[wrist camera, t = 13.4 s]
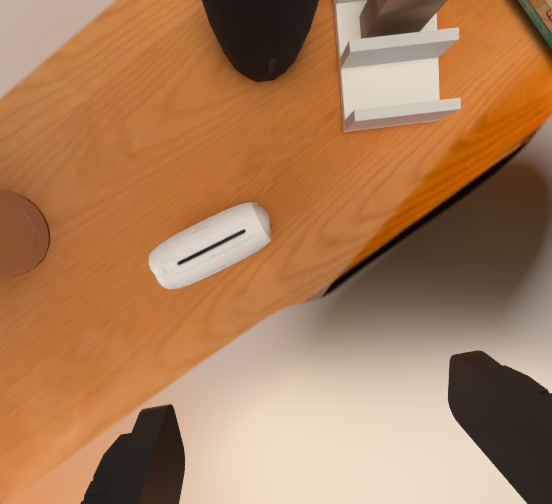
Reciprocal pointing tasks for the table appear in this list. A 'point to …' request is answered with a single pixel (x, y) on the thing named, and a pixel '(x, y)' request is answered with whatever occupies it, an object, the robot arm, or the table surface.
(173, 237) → the photo printer
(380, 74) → the slotted rack
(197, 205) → the table surface
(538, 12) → the puzzle game
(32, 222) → the robot arm
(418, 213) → the table surface
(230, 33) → the portable speaker
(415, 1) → the walnut block
